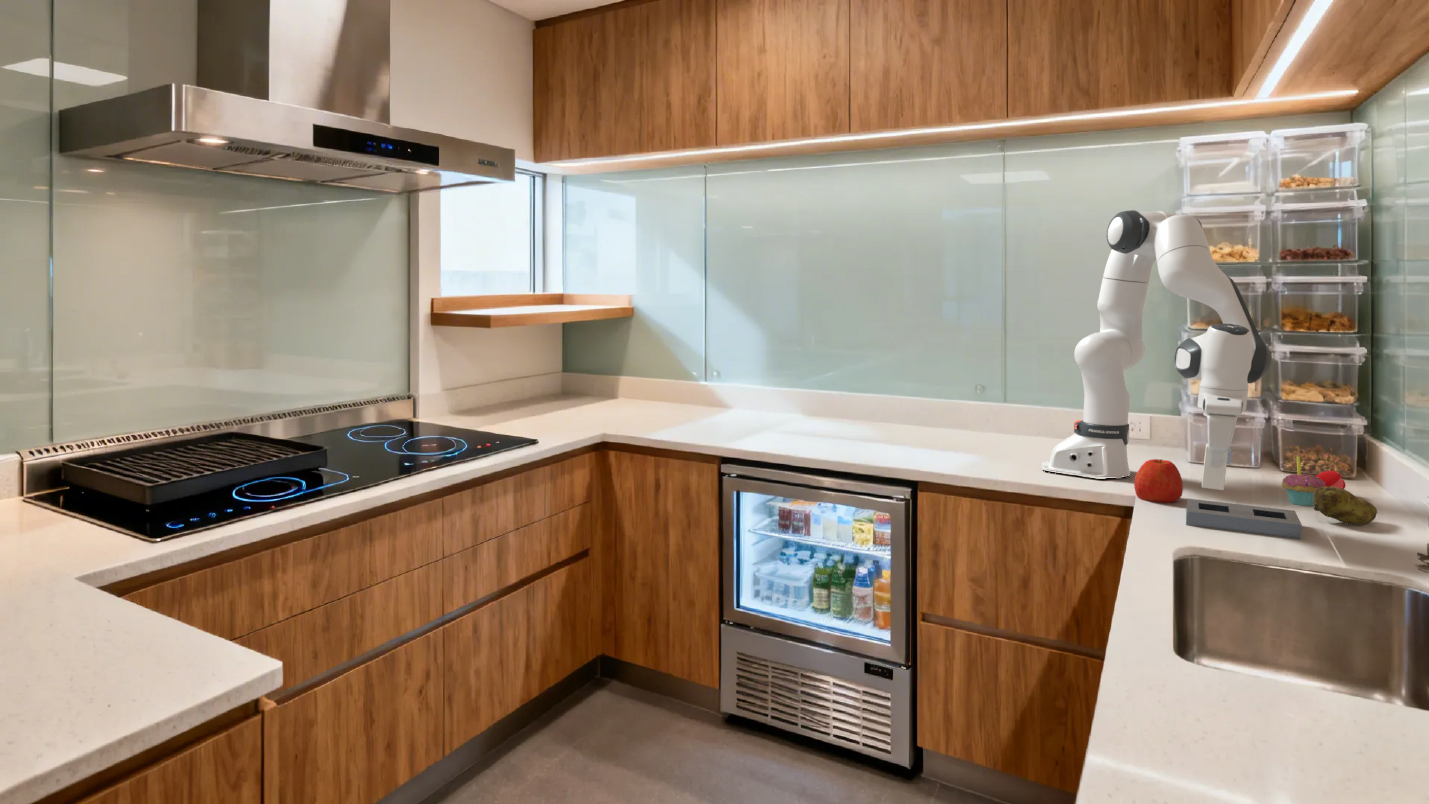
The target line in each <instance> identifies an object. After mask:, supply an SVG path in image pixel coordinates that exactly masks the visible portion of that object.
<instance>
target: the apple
mask: <svg viewBox="0 0 1429 804" xmlns="http://www.w3.org/2000/svg"><path fill="white" fill-rule="evenodd" d="M1134 477H1135V478H1134V491H1135V495H1136V496H1137V498H1138V499H1141V500H1145V501H1147V502H1151V503H1161V504H1162V503H1164V504H1172V503H1176V502H1177V501H1178V500H1179V499H1181V497H1182V495H1183V492H1184V491H1183V483H1184V482H1183V480H1182V476H1181V473H1180V471H1179V469H1178V467H1177V466H1176V465H1175V463H1174V462H1172V461H1170V460H1168V459H1167V460H1165V459H1157V458H1155V459H1154V458H1153V459H1148V460H1146V461H1144V463H1143V464H1142V465H1141V466H1140V468H1139V469H1138V470H1137V473H1135V476H1134Z"/></svg>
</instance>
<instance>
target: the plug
mask: <svg viewBox="0 0 1429 804" xmlns="http://www.w3.org/2000/svg"><path fill="white" fill-rule="evenodd" d="M1232 452H1233V450H1232V448H1230V449H1229V451H1228V452H1223V455H1222V459H1221V466H1220V467H1219V468H1216V467H1212V466H1211V450H1209V447H1208V443H1205V451H1204V458H1203V459H1204V460H1203V461H1204V462H1203V469H1202V478H1201V488H1202V489H1211V490H1219V491H1225V483H1226V473H1227V465H1231V462H1232V454H1233V453H1232Z"/></svg>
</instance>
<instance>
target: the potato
mask: <svg viewBox="0 0 1429 804" xmlns="http://www.w3.org/2000/svg"><path fill="white" fill-rule="evenodd" d="M1313 502H1314V505H1313V506H1314V508H1313V510H1314V511H1316V512H1319V513H1321V514H1322V515H1323V516H1325V517H1327V518H1331V519H1334V520H1336V521H1338V522H1340V523H1342V524H1346V525H1351V524H1352V525H1353V526H1362V524H1363V525H1366V524H1369V523H1370V524H1371V522H1373V521H1374V520H1376V517H1377V513H1378V509H1377V507H1376V506H1375V505H1374V504H1373V503H1371V502H1370V501H1367V500H1365V499H1362V498H1360V497H1357V496H1355V495H1354V494H1353V493H1351V492H1350V491H1349V490H1347V489H1342V488H1338V487H1330V486H1328V487H1323V488H1320V489H1317V490H1316V491H1315V493H1314V494H1313Z"/></svg>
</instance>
